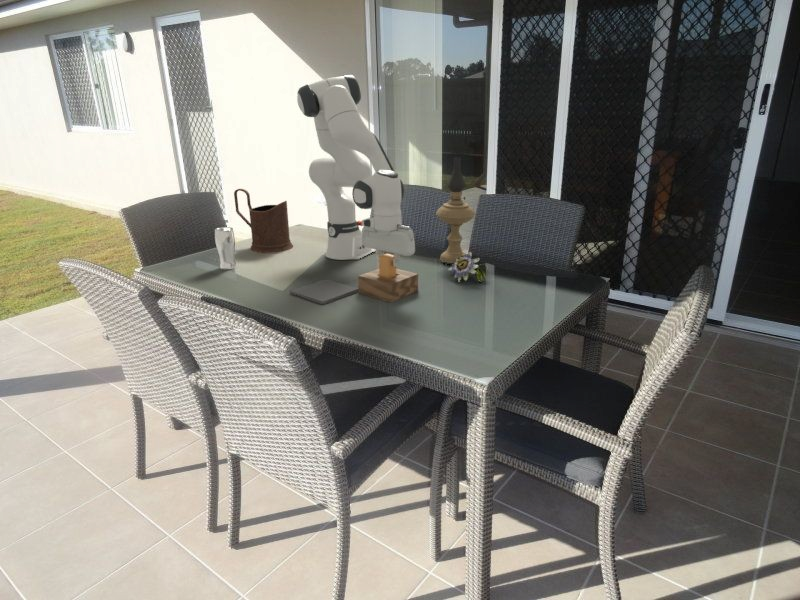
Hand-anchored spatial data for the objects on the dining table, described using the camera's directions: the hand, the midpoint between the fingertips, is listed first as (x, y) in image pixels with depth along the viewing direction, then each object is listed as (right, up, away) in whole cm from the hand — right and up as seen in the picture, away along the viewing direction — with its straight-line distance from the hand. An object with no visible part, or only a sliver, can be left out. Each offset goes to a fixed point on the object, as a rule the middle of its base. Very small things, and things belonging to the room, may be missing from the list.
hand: (388, 264), depth 175 cm
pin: (0, -7, +2) cm, 7 cm away
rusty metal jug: (-55, +11, +59) cm, 81 cm away
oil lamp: (+25, +4, +37) cm, 45 cm away
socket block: (0, -9, +3) cm, 10 cm away
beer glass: (-62, +1, +30) cm, 69 cm away
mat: (-21, -9, +3) cm, 23 cm away
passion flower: (+28, -5, +16) cm, 32 cm away
